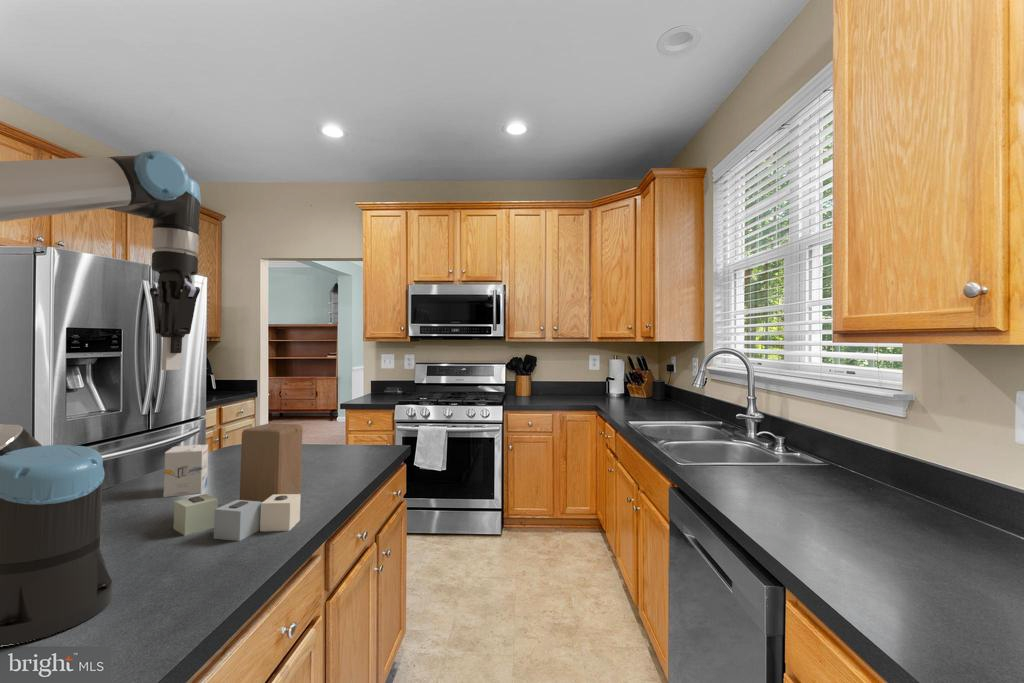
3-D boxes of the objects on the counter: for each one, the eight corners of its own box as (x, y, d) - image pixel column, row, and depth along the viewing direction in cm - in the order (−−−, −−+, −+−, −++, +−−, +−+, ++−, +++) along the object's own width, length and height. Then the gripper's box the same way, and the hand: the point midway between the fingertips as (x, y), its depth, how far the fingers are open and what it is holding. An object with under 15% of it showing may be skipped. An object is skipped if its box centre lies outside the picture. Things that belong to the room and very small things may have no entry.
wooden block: (301, 503, 113) (304, 424, 113) (277, 517, 103) (280, 430, 103) (264, 501, 114) (267, 422, 114) (236, 515, 104) (239, 429, 104)
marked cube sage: (184, 536, 92) (186, 505, 92) (173, 529, 95) (174, 499, 96) (217, 527, 97) (218, 497, 97) (205, 520, 100) (206, 492, 101)
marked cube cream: (289, 531, 96) (290, 501, 96) (260, 531, 95) (261, 502, 95) (299, 520, 102) (300, 492, 102) (272, 521, 101) (273, 493, 101)
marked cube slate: (239, 541, 90) (240, 510, 90) (213, 538, 91) (214, 507, 91) (260, 529, 96) (261, 500, 96) (236, 527, 97) (237, 498, 97)
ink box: (171, 488, 123) (172, 445, 123) (207, 484, 126) (209, 443, 126) (162, 497, 115) (163, 452, 115) (201, 494, 118) (203, 449, 119)
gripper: (214, 255, 91) (210, 370, 91) (176, 259, 97) (172, 368, 96) (174, 247, 84) (169, 371, 84) (135, 252, 90) (131, 369, 89)
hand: (171, 369), depth 90 cm, fingers closed
